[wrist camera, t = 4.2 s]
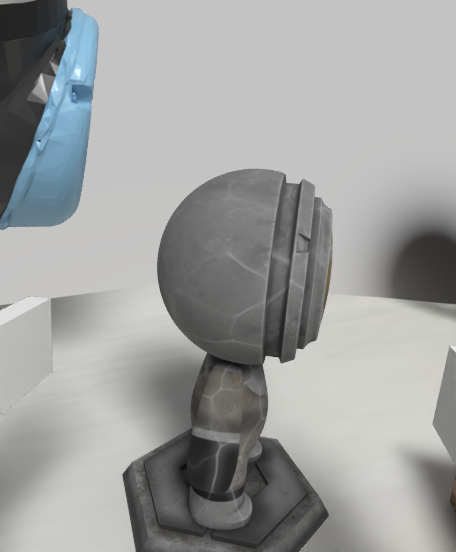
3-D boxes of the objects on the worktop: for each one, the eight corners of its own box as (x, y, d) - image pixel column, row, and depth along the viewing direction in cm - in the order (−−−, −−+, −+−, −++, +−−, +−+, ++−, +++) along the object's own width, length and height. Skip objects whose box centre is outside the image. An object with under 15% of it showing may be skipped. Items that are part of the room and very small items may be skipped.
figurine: (334, 606, 16) (408, 181, 12) (78, 548, 17) (74, 154, 13) (325, 456, 24) (367, 177, 20) (152, 426, 25) (162, 160, 22)
